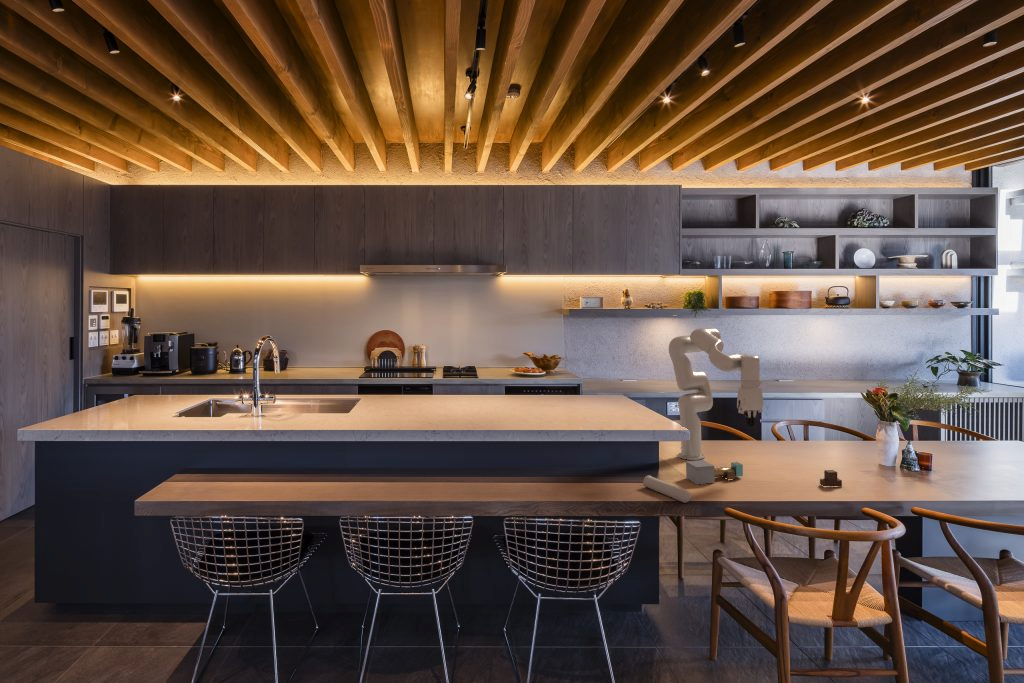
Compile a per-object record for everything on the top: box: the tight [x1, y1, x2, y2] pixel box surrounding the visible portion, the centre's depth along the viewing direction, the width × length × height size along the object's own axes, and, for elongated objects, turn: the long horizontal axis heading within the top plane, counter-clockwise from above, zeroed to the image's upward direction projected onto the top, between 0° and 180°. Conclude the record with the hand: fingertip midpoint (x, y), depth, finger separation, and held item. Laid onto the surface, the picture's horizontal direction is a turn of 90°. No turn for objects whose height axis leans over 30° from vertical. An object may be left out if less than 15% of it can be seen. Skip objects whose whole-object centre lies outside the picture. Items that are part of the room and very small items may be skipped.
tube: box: [642, 475, 692, 504], centre depth 244 cm, size 5×5×25 cm
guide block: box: [719, 466, 736, 480], centre depth 263 cm, size 7×3×4 cm, turn 9°
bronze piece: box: [714, 461, 744, 478], centre depth 262 cm, size 4×18×5 cm, turn 99°
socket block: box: [685, 459, 716, 486], centre depth 261 cm, size 10×8×8 cm
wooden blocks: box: [819, 469, 843, 487], centre depth 245 cm, size 15×15×7 cm
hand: (750, 426), depth 264 cm, fingers closed
